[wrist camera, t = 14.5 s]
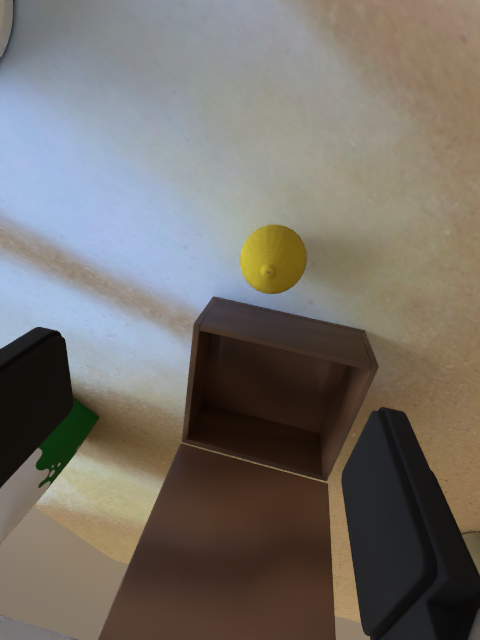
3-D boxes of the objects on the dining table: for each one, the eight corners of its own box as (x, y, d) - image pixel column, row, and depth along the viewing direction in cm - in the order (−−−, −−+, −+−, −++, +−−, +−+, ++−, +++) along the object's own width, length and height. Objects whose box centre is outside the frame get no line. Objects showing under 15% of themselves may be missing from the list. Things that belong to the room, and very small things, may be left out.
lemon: (318, 243, 28) (323, 267, 21) (280, 287, 31) (273, 321, 24) (272, 205, 28) (261, 217, 21) (237, 253, 30) (217, 277, 23)
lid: (91, 651, 20) (100, 670, 23) (341, 737, 18) (315, 746, 21) (180, 443, 33) (178, 472, 36) (328, 483, 32) (313, 510, 35)
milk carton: (80, 443, 48) (-50, 601, 30) (32, 407, 46) (-135, 553, 29) (107, 418, 44) (-22, 581, 27) (56, 378, 43) (-118, 524, 25)
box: (213, 296, 33) (193, 323, 27) (364, 330, 31) (379, 366, 25) (199, 402, 40) (181, 442, 34) (323, 434, 38) (326, 481, 32)
